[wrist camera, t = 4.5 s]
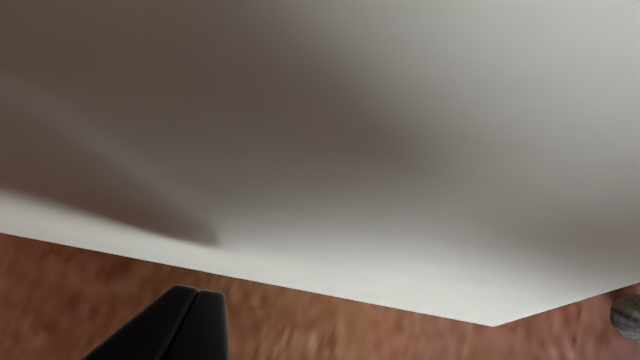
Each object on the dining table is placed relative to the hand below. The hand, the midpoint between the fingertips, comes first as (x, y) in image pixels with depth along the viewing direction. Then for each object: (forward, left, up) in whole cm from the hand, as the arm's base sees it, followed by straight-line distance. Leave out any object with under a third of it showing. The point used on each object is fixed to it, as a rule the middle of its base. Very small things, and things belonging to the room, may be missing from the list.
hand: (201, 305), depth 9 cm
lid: (+2, -2, +3) cm, 4 cm away
